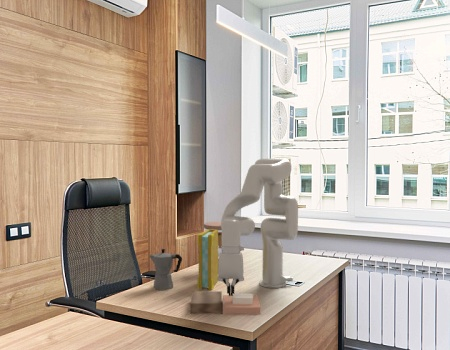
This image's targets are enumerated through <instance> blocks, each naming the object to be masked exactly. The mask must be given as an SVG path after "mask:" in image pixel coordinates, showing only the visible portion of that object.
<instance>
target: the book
mask: <svg viewBox="0 0 450 350" xmlns="http://www.w3.org/2000/svg"><path fill="white" fill-rule="evenodd" d="M218 232H219V230H215V229H209V230H208V229H205V230H204V231H202V232H201V233H199V234H197V246H198V278H197V290H203V289H204V288H207V291H212V290H214V287H215V286H216V285H217V283H218V282H219V281H218V280H217V279H218V259H219V258H218V254H219V246H218Z"/></svg>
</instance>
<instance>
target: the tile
mask: <svg viewBox="0 0 450 350" xmlns="http://www.w3.org/2000/svg"><path fill="white" fill-rule="evenodd" d="M253 295H254V293H241V292H240V293H238V292H237V293H236V292H234V294H233V304H253Z"/></svg>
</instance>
